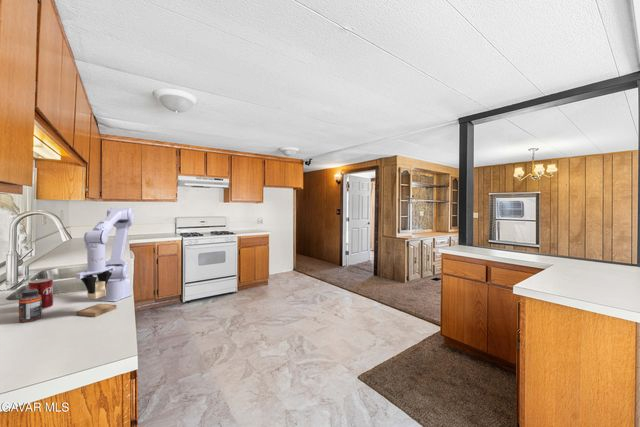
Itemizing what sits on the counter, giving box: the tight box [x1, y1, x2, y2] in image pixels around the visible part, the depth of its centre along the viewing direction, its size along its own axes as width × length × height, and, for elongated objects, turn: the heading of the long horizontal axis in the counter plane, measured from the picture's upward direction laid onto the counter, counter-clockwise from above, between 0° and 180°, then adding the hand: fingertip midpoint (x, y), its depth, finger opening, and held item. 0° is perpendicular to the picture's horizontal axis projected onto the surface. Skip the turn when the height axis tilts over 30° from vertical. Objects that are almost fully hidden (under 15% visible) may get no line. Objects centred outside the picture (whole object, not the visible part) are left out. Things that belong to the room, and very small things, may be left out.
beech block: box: [86, 280, 106, 300], centre depth 110 cm, size 4×4×6 cm
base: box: [76, 303, 117, 318], centre depth 110 cm, size 9×9×2 cm
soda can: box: [27, 278, 54, 311], centre depth 114 cm, size 7×7×12 cm
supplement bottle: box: [18, 289, 43, 323], centre depth 102 cm, size 6×6×11 cm
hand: (96, 291), depth 110 cm, fingers closed on beech block, 4 cm apart
